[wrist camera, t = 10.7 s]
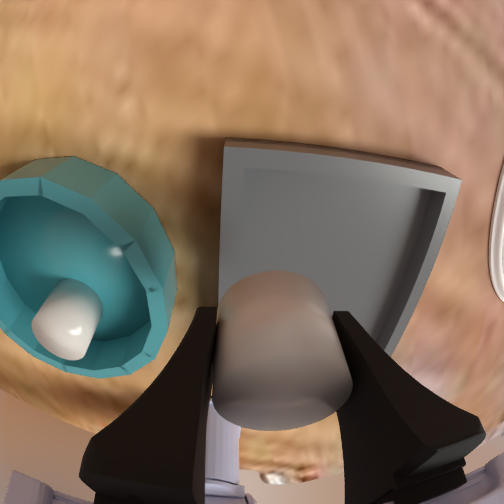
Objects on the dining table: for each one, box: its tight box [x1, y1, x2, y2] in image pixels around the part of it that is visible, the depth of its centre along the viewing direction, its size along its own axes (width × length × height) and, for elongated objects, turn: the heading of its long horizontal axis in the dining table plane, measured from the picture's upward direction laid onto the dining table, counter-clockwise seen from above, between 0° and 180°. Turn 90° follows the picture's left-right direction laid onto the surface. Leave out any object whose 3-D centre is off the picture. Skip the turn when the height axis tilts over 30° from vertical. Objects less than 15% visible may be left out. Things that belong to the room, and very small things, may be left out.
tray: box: [218, 138, 462, 357], centre depth 21 cm, size 18×14×2 cm
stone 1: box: [32, 279, 103, 360], centre depth 19 cm, size 4×4×4 cm
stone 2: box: [212, 271, 353, 431], centre depth 11 cm, size 4×4×4 cm
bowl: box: [0, 156, 177, 378], centre depth 19 cm, size 16×16×4 cm
